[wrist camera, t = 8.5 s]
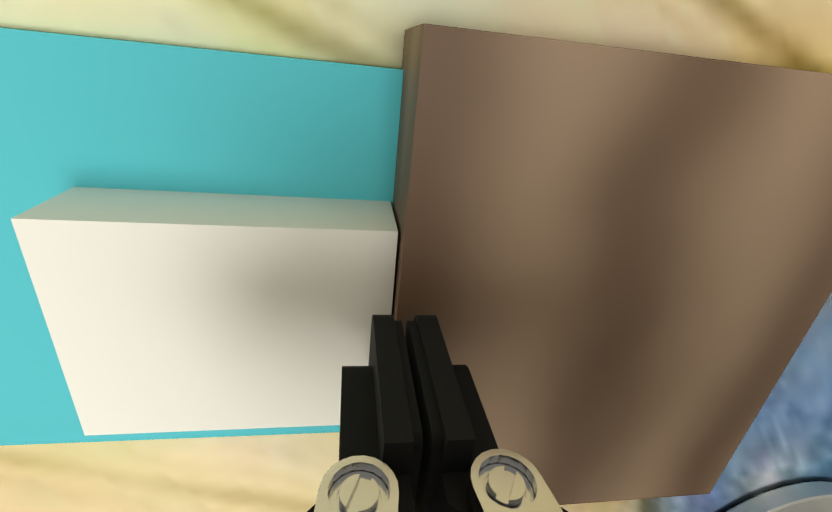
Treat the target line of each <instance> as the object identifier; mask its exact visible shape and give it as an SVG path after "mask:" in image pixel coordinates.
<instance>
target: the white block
mask: <svg viewBox="0 0 832 512" xmlns="http://www.w3.org/2000/svg"><path fill="white" fill-rule="evenodd" d="M11 221H12V224H13V227H14V230H15V233H16V236H17V239H18V242H19V245H20V248H21V251H22V253H23V256H24V259H25V262H26V265H27V268H28V271H29V274H30V277H31V280H32V283H33V286H34V289H35V291H36V294H37V297H38V300H39V303H40V306H41V309H42V312H43V315H44V318H45V321H46V324H47V327H48V329H49V332H50V335H51V338H52V341H53V344H54V347H55V350H56V353H57V356H58V359H59V362H60V365H61V367H62V370H63V373H64V376H65V379H66V382H67V385H68V388H69V391H70V394H71V397H72V400H73V403H74V405H75V408H76V411H77V414H78V417H79V420H80V423H81V426H82V429H83V432H84V435H85V436H86V435H110V434H134V433H158V432H183V431H207V430H231V429H255V428H279V427H304V426H328V425H340V407H341V377H342V366H368V364H369V350H370V336H371V322H372V315H391V313H392V300H393V288H394V276H395V263H396V251H397V239H398V229H397V225H396V222H395V218H394V214H393V210H392V206H391V202H390V201H375V200H353V199H332V198H310V197H288V196H266V195H244V194H222V193H200V192H178V191H156V190H134V189H112V188H90V187H72V188H70V189H68V190H66V191H64V192H62V193H60V194H58V195H56V196H54V197H52V198H50V199H48V200H47V201H45V202H43V203H41V204H39V205H37V206H35V207H33V208H31V209H29V210H27V211H25V212H23V213H21V214H19V215H17V216H15V217H13V218H11Z"/></svg>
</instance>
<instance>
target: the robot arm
mask: <svg viewBox="0 0 832 512" xmlns="http://www.w3.org/2000/svg"><path fill="white" fill-rule="evenodd" d="M307 512H568V511H566V510H565V509H563V508H562V507H560V506H559V504H558V502H557V501H556V499H555V497H554V496H553V494H552V492H551V491H550V489H549V487H548V486H547V484H546V483H545V481H544V479H543V478H542V476H541V474H540V473H539V472H538V470H537V469H536V468H535V466H534V465H533V464H532V463H531V462H529V461H528V460H527V459H526V458H524V457H523V456H521V455H519V454H517V453H515V452H513V451H509V450H505V449H499V448H498V446H497V443H496V440H495V438H494V435H493V432H492V429H491V427H490V424H489V421H488V419H487V416H486V413H485V411H484V408H483V405H482V402H481V400H480V397H479V394H478V392H477V389H476V386H475V384H474V381H473V378H472V375H471V373H470V370H469V368H468V366H466V365H452V362H451V359H450V356H449V353H448V350H447V347H446V344H445V341H444V338H443V335H442V331H441V328H440V325H439V322H438V319H437V317H436V315H415V316H414V320H407V323H406V330H405V336H404V331H403V326H402V321H401V320H394V315H372V322H371V336H370V350H369V364H368V366H342V377H341V407H340V443H339V462H337V463H336V464H334V465H333V466H332V467H331V468H330V469H329V470H328V471H327V473H326V474H325V475H324V477H323V479H322V482H321V484H320V487H319V491H318V496H317V500H316V504H315V505H314V506H313V507H312V508H311V509H310V510H308V511H307ZM726 512H832V482H825V481H813V482H802V483H797V484H792V485H787V486H783V487H780V488H777V489H774V490H770V491H767V492H764V493H762V494H760V495H757V496H755V497H753V498H750V499H748V500H746V501H744V502H742V503H740V504H738V505H737V506H735V507H733V508H731V509H729V510H727V511H726Z"/></svg>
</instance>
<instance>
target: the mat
mask: <svg viewBox="0 0 832 512" xmlns="http://www.w3.org/2000/svg"><path fill="white" fill-rule="evenodd" d="M402 81H403V69H395V68H385V67H376V66H366V65H357V64H347V63H337V62H328V61H318V60H309V59H299V58H289V57H280V56H270V55H261V54H251V53H241V52H232V51H222V50H213V49H203V48H194V47H184V46H174V45H165V44H155V43H146V42H136V41H126V40H117V39H107V38H98V37H88V36H78V35H69V34H59V33H50V32H40V31H30V30H21V29H11V28H2V27H0V445H24V444H49V443H75V442H100V441H125V440H150V439H175V438H201V437H226V436H251V435H276V434H301V433H326V432H340V425H328V426H304V427H279V428H255V429H231V430H207V431H183V432H158V433H134V434H110V435H86V436H85V435H84V432H83V429H82V426H81V423H80V420H79V417H78V414H77V411H76V408H75V405H74V403H73V400H72V397H71V394H70V391H69V388H68V385H67V382H66V379H65V376H64V373H63V370H62V367H61V365H60V362H59V359H58V356H57V353H56V350H55V347H54V344H53V341H52V338H51V335H50V332H49V329H48V327H47V324H46V321H45V318H44V315H43V312H42V309H41V306H40V303H39V300H38V297H37V294H36V291H35V289H34V286H33V283H32V280H31V277H30V274H29V271H28V268H27V265H26V262H25V259H24V256H23V253H22V251H21V248H20V245H19V242H18V239H17V236H16V233H15V230H14V227H13V224H12V221H11V218H13V217H15V216H17V215H19V214H21V213H23V212H25V211H27V210H29V209H31V208H33V207H35V206H37V205H39V204H41V203H43V202H45V201H47V200H48V199H50V198H52V197H54V196H56V195H58V194H60V193H62V192H64V191H66V190H68V189H70V188H72V187H90V188H112V189H134V190H156V191H178V192H200V193H222V194H244V195H266V196H288V197H310V198H332V199H353V200H375V201H390V202H391V206H392V207H393V195H394V182H395V169H396V157H397V144H398V132H399V119H400V106H401V94H402Z"/></svg>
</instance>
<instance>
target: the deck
mask: <svg viewBox="0 0 832 512" xmlns="http://www.w3.org/2000/svg"><path fill="white" fill-rule="evenodd" d="M402 69H403V81H402V94H401V106H400V119H399V132H398V144H397V157H396V169H395V182H394V195H393V207H392V210H393V214H394V218H395V222H396V225H397V229H398V239H397V251H396V263H395V276H394V288H393V300H392V313H391V315H394V320H401V321H402V326H403V331H404V336H405V330H406V323H407V320H414V316H415V315H436V317H437V319H438V322H439V325H440V328H441V331H442V335H443V338H444V341H445V344H446V347H447V350H448V353H449V356H450V359H451V362H452V365H466V366H468V368H469V370H470V373H471V375H472V378H473V381H474V384H475V386H476V389H477V392H478V394H479V397H480V400H481V402H482V405H483V408H484V411H485V413H486V416H487V419H488V421H489V424H490V427H491V429H492V432H493V435H494V438H495V440H496V443H497V446H498V448H499V449H505V450H509V451H513V452H515V453H517V454H519V455H521V456H523V457H524V458H526V459H527V460H528V461H529V462H531V463H532V464H533V465H534V466H535V468H536V469H537V470H538V472H539V473H540V474H541V476H542V478H543V479H544V481H545V483H546V484H547V486H548V487H549V489H550V491H551V492H552V494H553V496H554V497H555V499H556V501H557V502H558V504H559V505H564V504H578V503H591V502H605V501H618V500H631V499H645V498H658V497H672V496H685V495H699V494H709V493H710V492H711V490H712V488H713V487H714V485H715V483H716V482H717V480H718V478H719V477H720V475H721V473H722V472H723V470H724V468H725V467H726V465H727V464H728V462H729V460H730V459H731V457H732V455H733V454H734V452H735V450H736V449H737V447H738V445H739V444H740V442H741V440H742V439H743V437H744V435H745V434H746V432H747V431H748V429H749V427H750V426H751V424H752V422H753V421H754V419H755V417H756V416H757V414H758V412H759V411H760V409H761V407H762V406H763V404H764V402H765V401H766V399H767V398H768V396H769V394H770V393H771V391H772V389H773V388H774V386H775V384H776V383H777V381H778V379H779V378H780V376H781V374H782V373H783V371H784V369H785V368H786V366H787V365H788V363H789V361H790V360H791V358H792V356H793V355H794V353H795V351H796V350H797V348H798V346H799V345H800V343H801V341H802V340H803V338H804V336H805V335H806V333H807V332H808V330H809V328H810V327H811V325H812V323H813V322H814V320H815V318H816V317H817V315H818V313H819V312H820V310H821V308H822V307H823V305H824V303H825V302H826V300H827V299H828V297H829V295H830V294H831V292H832V74H829V73H821V72H813V71H805V70H796V69H788V68H780V67H772V66H764V65H756V64H748V63H740V62H732V61H724V60H716V59H707V58H699V57H691V56H683V55H675V54H667V53H659V52H651V51H643V50H635V49H627V48H618V47H610V46H602V45H594V44H586V43H578V42H570V41H562V40H554V39H546V38H538V37H529V36H521V35H513V34H505V33H497V32H489V31H481V30H473V29H465V28H457V27H449V26H440V25H432V24H421V25H418V26H416V27H413V28H410V29H407V30H405V35H404V48H403V61H402Z"/></svg>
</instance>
